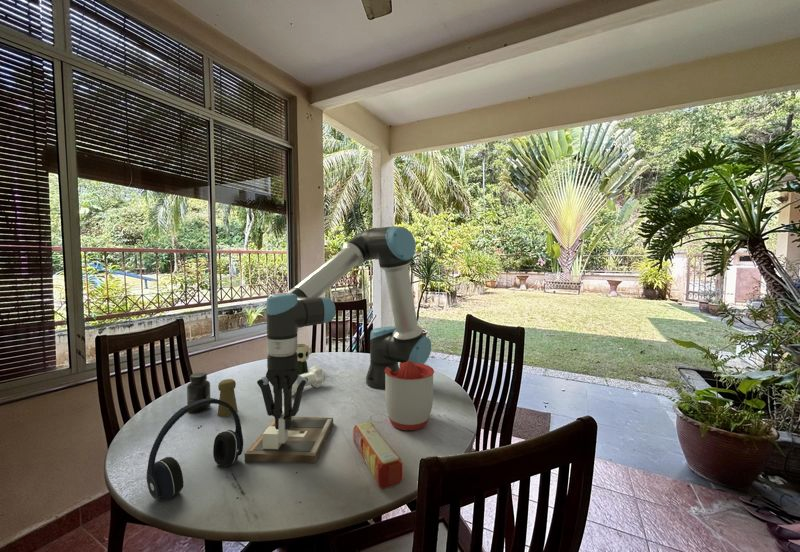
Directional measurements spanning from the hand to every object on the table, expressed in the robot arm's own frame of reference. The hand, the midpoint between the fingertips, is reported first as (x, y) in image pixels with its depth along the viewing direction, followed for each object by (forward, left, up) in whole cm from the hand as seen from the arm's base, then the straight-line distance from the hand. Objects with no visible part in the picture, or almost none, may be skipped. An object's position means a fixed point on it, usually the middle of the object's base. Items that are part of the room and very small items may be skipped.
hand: (283, 440), depth 89 cm
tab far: (+5, -12, -2) cm, 13 cm away
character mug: (+16, -60, -4) cm, 62 cm away
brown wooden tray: (0, -6, -4) cm, 7 cm away
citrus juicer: (-32, -19, -4) cm, 38 cm away
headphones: (+16, +11, -4) cm, 19 cm away
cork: (+28, -22, -4) cm, 35 cm away
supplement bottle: (+39, -24, -4) cm, 46 cm away
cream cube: (+3, 0, -2) cm, 3 cm away
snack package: (-25, +3, -4) cm, 25 cm away
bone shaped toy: (+9, -42, -4) cm, 43 cm away
